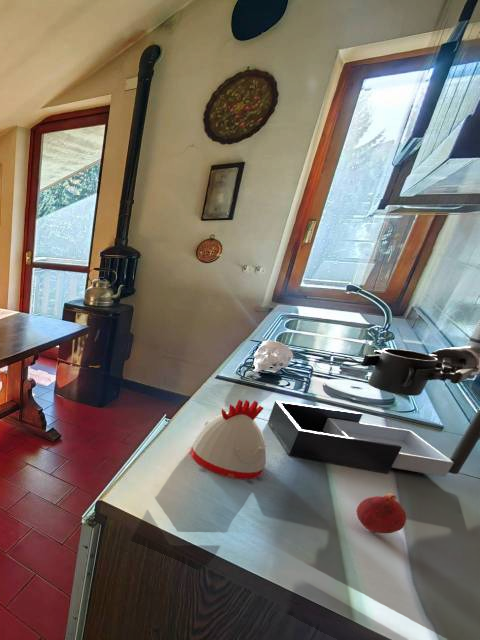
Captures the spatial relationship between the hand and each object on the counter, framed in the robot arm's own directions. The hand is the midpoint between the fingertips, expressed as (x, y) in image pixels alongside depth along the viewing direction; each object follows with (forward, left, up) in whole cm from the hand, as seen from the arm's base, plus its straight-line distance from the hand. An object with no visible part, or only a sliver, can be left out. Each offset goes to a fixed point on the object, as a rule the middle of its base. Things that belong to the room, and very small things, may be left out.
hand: (389, 367), depth 94 cm
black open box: (-9, +15, -18) cm, 25 cm away
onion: (-39, +27, -18) cm, 51 cm away
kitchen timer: (-19, +42, -18) cm, 49 cm away
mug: (+1, -4, -6) cm, 7 cm away
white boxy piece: (-12, +4, -17) cm, 21 cm away
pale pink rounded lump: (+48, -4, -18) cm, 51 cm away
